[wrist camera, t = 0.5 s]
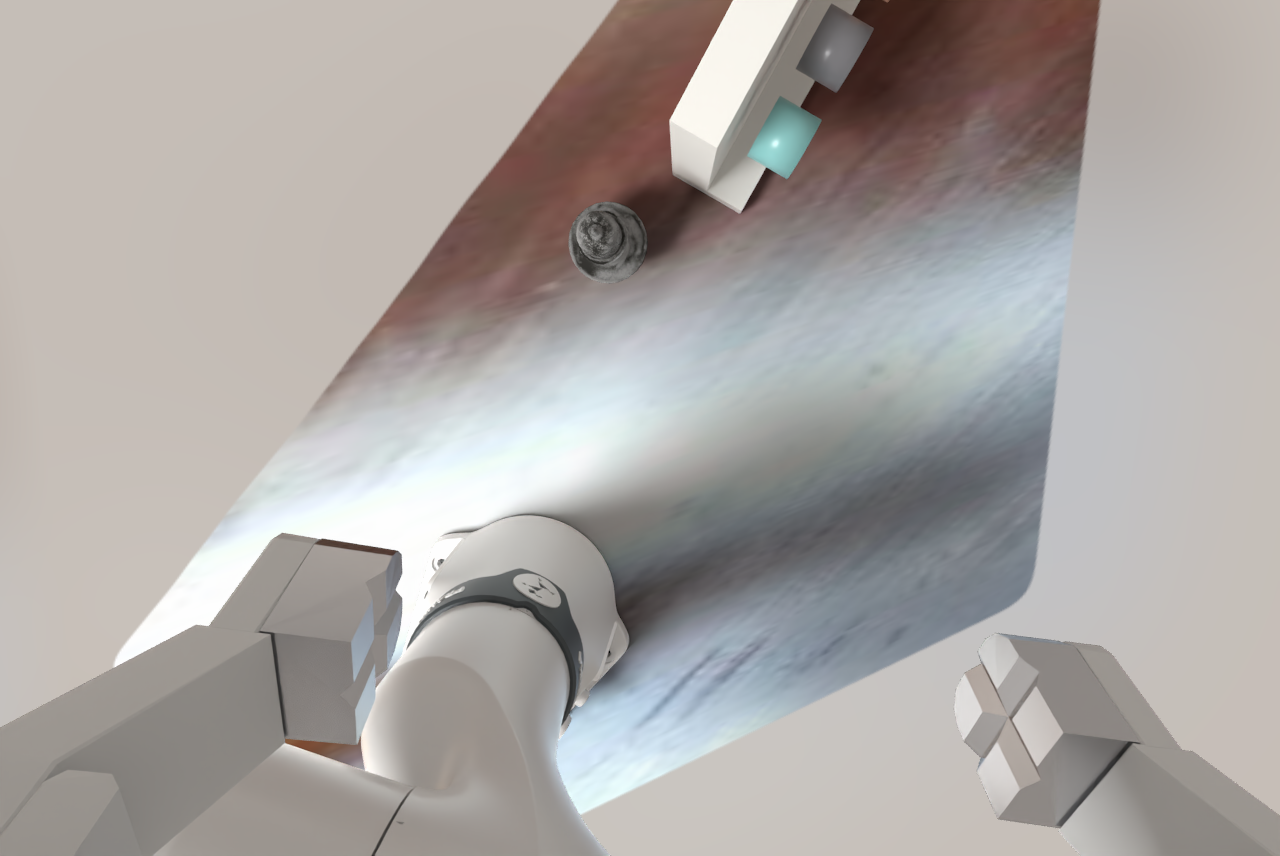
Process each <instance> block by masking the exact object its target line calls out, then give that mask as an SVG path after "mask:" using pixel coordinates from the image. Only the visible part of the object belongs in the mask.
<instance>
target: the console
mask: <svg viewBox="0 0 1280 856" xmlns="http://www.w3.org/2000/svg"><path fill="white" fill-rule="evenodd" d="M859 2H860V0H733V2H732V4H731V6H730V7H729V9H728V11H727V13H726V15H725V17H724V19H723V21H722V23H721V24H720V26H719V28H718V30H717V32H716V34H715V36H714V38H713V39H712V41H711V43H710V45H709V47H708V49H707V51H706V53H705V55H704V56H703V58H702V60H701V62H700V64H699V66H698V68H697V70H696V72H695V73H694V75H693V77H692V79H691V81H690V83H689V85H688V87H687V89H686V90H685V92H684V94H683V96H682V98H681V100H680V102H679V104H678V106H677V107H676V109H675V111H674V113H673V115H672V117H671V119H670V136H671V154H672V171H673V175H674V176H675V177H677V178H679V179H680V180H682V181H684V182H686V183H687V184H689V185H691V186H693V187H694V188H696V189H698V190H700V191H701V192H703V193H705V194H707V195H708V196H710V197H712V198H713V199H715V200H717V201H719V202H720V203H722V204H724V205H726V206H727V207H729V208H731V209H733V210H734V211H736V212H738V213H739V214H740V213H741V211H742V209H743V208H744V206H745V204H746V202H747V201H748V199H749V197H750V195H751V193H752V192H753V190H754V188H755V186H756V185H757V183H758V181H759V179H760V178H761V176H762V174H763V172H764V170H765V169H766V167H765V166H763V165H762V164H760V163H758V162H756V161H755V160H753V159H751V158H749V157H748V156H747V155H748V153H749V151H750V149H751V147H752V145H753V143H754V141H755V140H756V138H757V136H758V134H759V132H760V130H761V129H762V127H763V125H764V123H765V121H766V119H767V118H768V116H769V114H770V112H771V111H772V109H773V107H774V105H775V103H776V102H777V100H778V98H779V97H780V96H782V97H783V98H785V99H787V100H789V101H790V102H792V103H794V104H795V105H797V106H799V107H800V106H801V105H802V103H803V101H804V99H805V98H806V96H807V94H808V92H809V90H810V89H811V87H812V85H813V83H814V82H815V80H813V79H812V78H810V77H808V76H807V75H805V74H803V73H801V72H800V71H798V70H796V67H797V65H798V63H799V61H800V59H801V57H802V55H803V53H804V52H805V50H806V48H807V46H808V44H809V42H810V40H811V39H812V37H813V35H814V33H815V31H816V30H817V28H818V26H819V24H820V22H821V21H822V19H823V17H824V15H825V13H826V12H827V10H828V8H829V6H830V5H831V3H832V4H834V5H835V6H837V7H839V8H841V9H842V10H844V11H846V12H847V13H849V14H851V15H852V14H853V12H854V11H855V9H856V7H857V5H858V3H859Z"/></svg>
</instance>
